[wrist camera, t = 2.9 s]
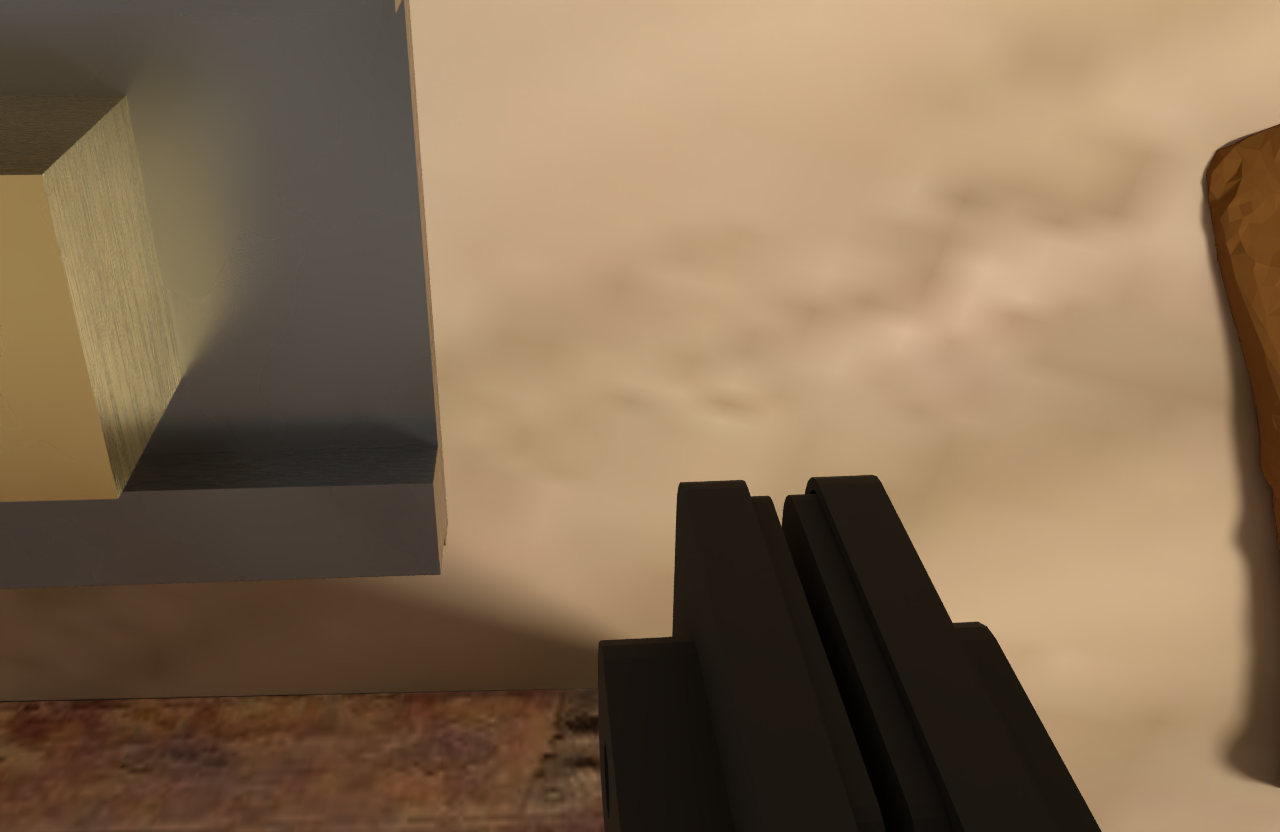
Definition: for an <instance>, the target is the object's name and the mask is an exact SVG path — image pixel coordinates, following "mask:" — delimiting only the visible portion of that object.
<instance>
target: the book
mask: <svg viewBox="0 0 1280 832" xmlns="http://www.w3.org/2000/svg"><path fill="white" fill-rule="evenodd" d="M0 832H605V829H604V817H603V804H602V790H601V773H600V751H599V714H598V688H594V689H552V690H509V691H466V692H424V693H381V694H338V695H296V696H253V697H211V698H168V699H125V700H83V701H40V702H0Z"/></svg>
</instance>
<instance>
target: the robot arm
mask: <svg viewBox="0 0 1280 832" xmlns="http://www.w3.org/2000/svg"><path fill="white" fill-rule="evenodd" d="M598 714H599V751H600V773H601V790H602V804H603V817H604V829H605V832H1102V831H1101V830H1100V828H1099V826H1098V824H1097V822H1096V820H1095V819H1094V817H1093V815H1092V813H1091V811H1090V810H1089V808H1088V806H1087V804H1086V802H1085V800H1084V799H1083V797H1082V795H1081V793H1080V791H1079V789H1078V788H1077V786H1076V784H1075V782H1074V780H1073V779H1072V777H1071V775H1070V773H1069V771H1068V769H1067V768H1066V766H1065V764H1064V762H1063V760H1062V758H1061V757H1060V755H1059V753H1058V751H1057V749H1056V748H1055V746H1054V744H1053V742H1052V740H1051V738H1050V737H1049V735H1048V733H1047V731H1046V729H1045V727H1044V726H1043V724H1042V722H1041V720H1040V718H1039V717H1038V715H1037V713H1036V711H1035V709H1034V707H1033V706H1032V704H1031V702H1030V700H1029V698H1028V696H1027V695H1026V693H1025V691H1024V689H1023V687H1022V686H1021V684H1020V682H1019V680H1018V678H1017V676H1016V675H1015V673H1014V671H1013V669H1012V667H1011V665H1010V664H1009V662H1008V660H1007V658H1006V656H1005V654H1004V653H1003V651H1002V649H1001V647H1000V645H999V644H998V642H997V640H996V638H995V637H994V636H993V634H992V633H991V631H990V630H989V629H988V627H987V626H985V625H983V624H981V623H979V622H964V623H952V621H951V619H950V617H949V615H948V613H947V611H946V609H945V607H944V605H943V603H942V601H941V599H940V597H939V595H938V593H937V591H936V589H935V587H934V585H933V583H932V581H931V579H930V578H929V576H928V574H927V572H926V570H925V568H924V566H923V564H922V562H921V560H920V558H919V556H918V554H917V552H916V550H915V548H914V546H913V544H912V542H911V540H910V538H909V536H908V534H907V532H906V530H905V528H904V526H903V524H902V522H901V520H900V518H899V517H898V515H897V513H896V511H895V509H894V507H893V505H892V503H891V501H890V499H889V497H888V495H887V493H886V491H885V489H884V487H883V485H882V483H881V481H880V480H879V479H878V477H877V476H874V475H860V476H834V477H811V478H810V480H809V481H808V483H807V486H806V490H805V494H802V495H788V496H787V497H786V499H785V502H784V509H783V519H782V527H781V524H780V521H779V519H778V516H777V513H776V510H775V507H774V504H773V501H772V499H771V497H769V496H752V497H751V496H750V493H749V490H748V487H747V485H746V482H745V481H743V480H730V481H704V482H680V484H679V487H678V493H677V511H676V542H675V573H674V604H673V635H672V637H662V638H642V639H622V640H602V641H600V642H599V650H598Z"/></svg>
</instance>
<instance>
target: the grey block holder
mask: <svg viewBox="0 0 1280 832" xmlns="http://www.w3.org/2000/svg"><path fill="white" fill-rule="evenodd" d="M0 96H126V98H127V103H128V108H129V113H130V119H131V124H132V129H133V134H134V139H135V144H136V149H137V155H138V160H139V165H140V170H141V175H142V180H143V186H144V191H145V196H146V201H147V206H148V211H149V216H150V222H151V227H152V232H153V237H154V242H155V247H156V253H157V258H158V263H159V268H160V273H161V278H162V283H163V289H164V294H165V299H166V304H167V309H168V314H169V320H170V325H171V330H172V335H173V340H174V345H175V350H176V356H177V361H178V366H179V371H180V376H181V381H180V383H179V385H178V387H177V388H176V390H175V392H174V394H173V396H172V398H171V400H170V402H169V404H168V406H167V407H166V409H165V411H164V413H163V415H162V417H161V419H160V421H159V423H158V424H157V426H156V428H155V430H154V432H153V434H152V436H151V438H150V440H149V441H148V443H147V445H146V447H145V449H144V451H143V453H142V455H141V457H140V459H139V460H138V462H137V464H136V466H135V468H134V470H133V472H132V474H131V476H130V477H129V479H128V481H127V483H126V485H125V487H124V489H123V491H122V493H121V494H120V496H119V498H118V499H91V500H54V501H17V502H0V589H7V588H38V587H69V586H100V585H131V584H162V583H193V582H224V581H255V580H286V579H317V578H348V577H379V576H410V575H440V574H441V565H442V556H443V546H444V545H446V536H447V526H448V519H447V505H446V492H445V478H444V465H443V451H442V438H441V424H440V411H439V397H438V384H437V370H436V357H435V343H434V330H433V316H432V303H431V289H430V276H429V262H428V249H427V235H426V222H425V208H424V195H423V181H422V168H421V154H420V141H419V127H418V114H417V100H416V87H415V73H414V60H413V46H412V33H411V19H410V6H409V0H0Z"/></svg>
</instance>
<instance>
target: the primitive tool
mask: <svg viewBox="0 0 1280 832" xmlns="http://www.w3.org/2000/svg"><path fill="white" fill-rule="evenodd" d="M1206 176H1207V181H1208V191H1209V197H1208V201H1209V204H1210V209H1211V218H1212V224H1213V229H1214V234H1215V242H1216V247H1217V259H1218V262H1219V265H1220V269H1221V274H1222V278H1223V281H1224V284H1225V288H1226V292H1227V296H1228V300H1229V304H1230V308H1231V312H1232V316H1233V320H1234V323H1235V326H1236V329H1237V331H1238V334H1239V339H1240V342H1241V346H1242V351H1243V355H1244V359H1245V363H1246V366H1247V370H1248V373H1249V376H1250V379H1251V385H1252V391H1253V394H1254V398H1255V403H1256V412H1257V421H1258V427H1259V432H1260V466H1261V468H1262V471H1263V473H1264V475H1265V478H1266V481H1267V482H1268V483H1269V484H1270V485H1271V487H1272V498H1273V509H1274V514H1275V520H1276V526H1277V536H1278V546H1279V551H1280V125H1277V126H1274V127H1272V128H1269V129H1267V130H1264V131H1262V132H1260V133H1257V134H1255V135H1252V136H1250V137H1248V138H1245V139H1243V140H1241V141H1239V142H1238V143H1236V144H1234V145H1231V146H1228V147H1226V148H1223V149H1221V150H1219V151H1217V153H1216V154H1215V156H1214V158H1213V160H1212V162H1211V164H1210V166H1209V168H1208V170H1207V175H1206Z"/></svg>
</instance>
